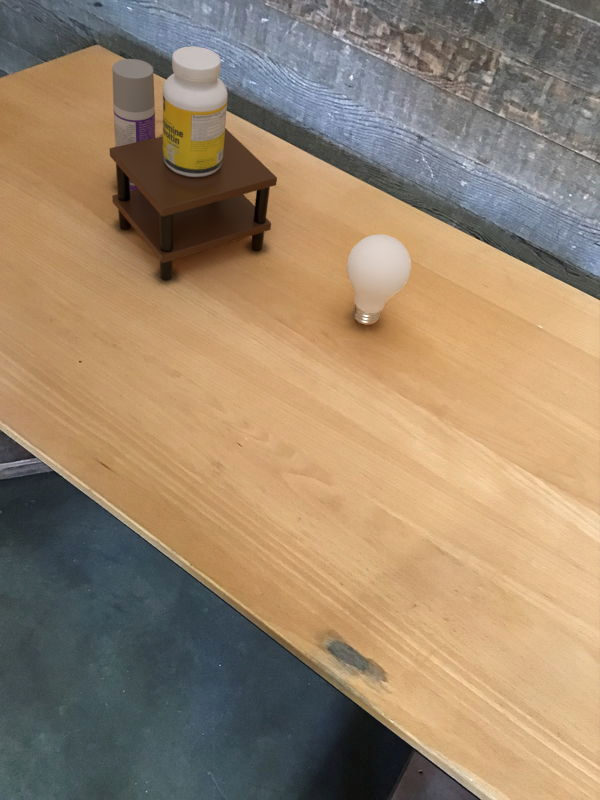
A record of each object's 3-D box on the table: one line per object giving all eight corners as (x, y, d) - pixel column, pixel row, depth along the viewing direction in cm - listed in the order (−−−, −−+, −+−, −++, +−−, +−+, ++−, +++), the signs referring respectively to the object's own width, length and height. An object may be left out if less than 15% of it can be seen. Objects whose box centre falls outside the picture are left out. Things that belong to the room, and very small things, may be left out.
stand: (162, 284, 84) (162, 208, 76) (113, 224, 89) (109, 147, 82) (268, 250, 90) (277, 177, 83) (216, 196, 96) (220, 123, 88)
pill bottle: (163, 144, 84) (163, 38, 75) (222, 148, 85) (228, 44, 76) (161, 178, 80) (161, 70, 71) (223, 182, 81) (230, 76, 72)
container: (151, 173, 97) (150, 57, 86) (159, 194, 94) (158, 78, 83) (114, 175, 96) (108, 58, 84) (121, 197, 93) (115, 79, 82)
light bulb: (355, 292, 87) (375, 212, 79) (404, 320, 85) (430, 241, 77) (323, 321, 83) (340, 240, 75) (373, 351, 81) (397, 271, 73)
